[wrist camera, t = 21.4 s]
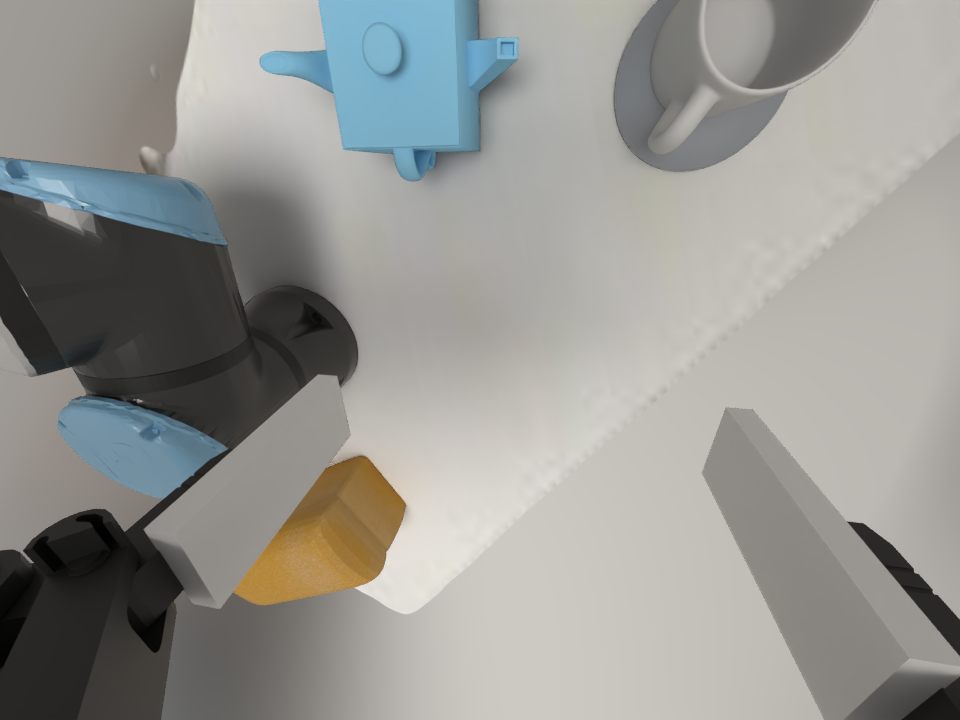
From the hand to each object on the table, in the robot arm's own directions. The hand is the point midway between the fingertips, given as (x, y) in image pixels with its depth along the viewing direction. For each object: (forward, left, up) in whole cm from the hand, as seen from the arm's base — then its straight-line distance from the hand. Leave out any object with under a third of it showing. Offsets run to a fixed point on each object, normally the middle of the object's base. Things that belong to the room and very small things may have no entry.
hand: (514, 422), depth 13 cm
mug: (+11, +14, -28) cm, 33 cm away
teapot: (-11, +15, -29) cm, 34 cm away
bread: (-32, -42, -29) cm, 61 cm away
